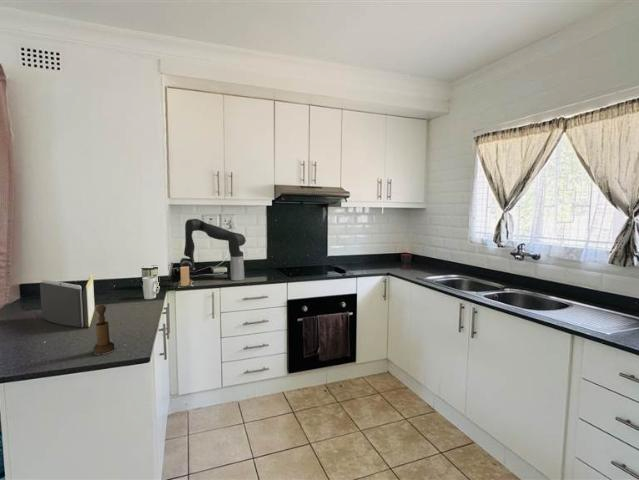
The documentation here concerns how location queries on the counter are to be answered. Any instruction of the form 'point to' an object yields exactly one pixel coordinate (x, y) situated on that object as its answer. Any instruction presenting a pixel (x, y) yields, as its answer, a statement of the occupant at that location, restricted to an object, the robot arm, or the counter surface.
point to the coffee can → (150, 273)
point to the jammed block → (184, 276)
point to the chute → (190, 283)
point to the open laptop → (67, 302)
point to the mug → (150, 287)
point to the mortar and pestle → (102, 333)
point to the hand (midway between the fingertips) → (185, 271)
